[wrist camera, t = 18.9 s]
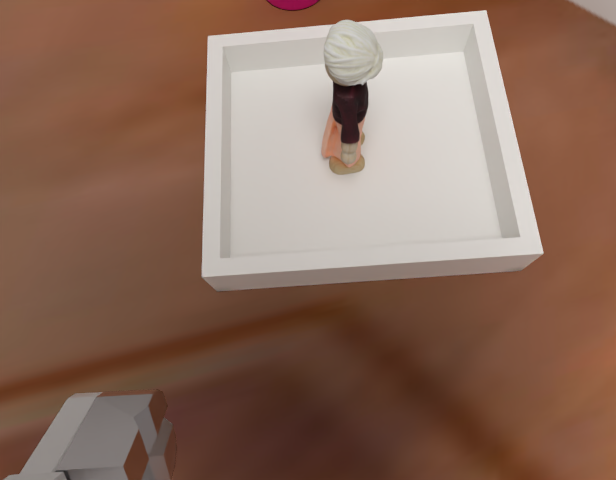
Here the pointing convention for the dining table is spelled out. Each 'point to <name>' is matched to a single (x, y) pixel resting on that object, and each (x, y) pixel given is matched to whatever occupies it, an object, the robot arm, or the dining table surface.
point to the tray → (377, 154)
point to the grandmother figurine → (349, 92)
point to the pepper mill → (292, 4)
